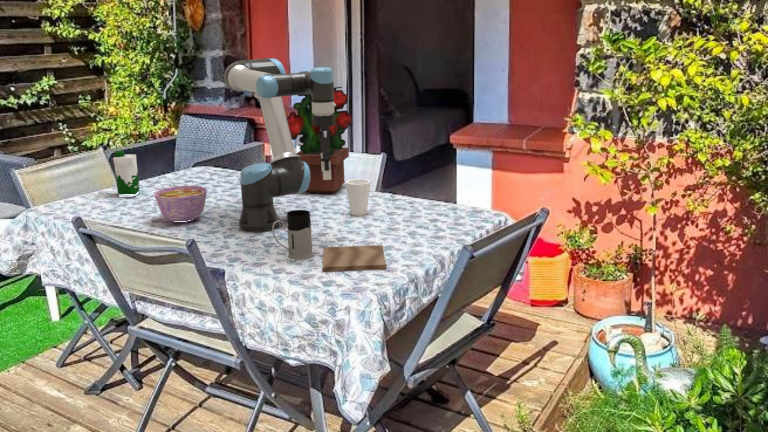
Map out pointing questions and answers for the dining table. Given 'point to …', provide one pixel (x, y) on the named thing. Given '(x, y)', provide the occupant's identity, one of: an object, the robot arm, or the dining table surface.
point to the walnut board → (353, 258)
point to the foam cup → (358, 196)
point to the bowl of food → (181, 202)
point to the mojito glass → (126, 173)
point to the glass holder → (298, 235)
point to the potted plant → (311, 142)
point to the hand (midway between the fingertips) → (326, 175)
